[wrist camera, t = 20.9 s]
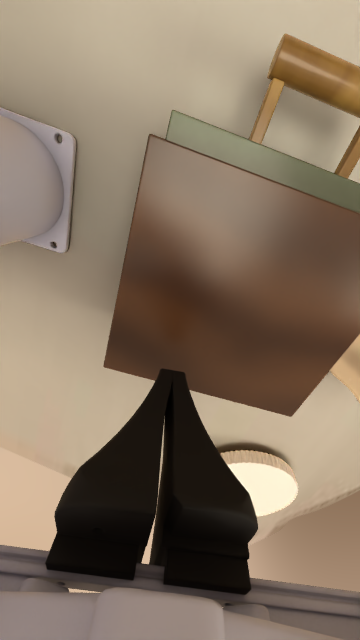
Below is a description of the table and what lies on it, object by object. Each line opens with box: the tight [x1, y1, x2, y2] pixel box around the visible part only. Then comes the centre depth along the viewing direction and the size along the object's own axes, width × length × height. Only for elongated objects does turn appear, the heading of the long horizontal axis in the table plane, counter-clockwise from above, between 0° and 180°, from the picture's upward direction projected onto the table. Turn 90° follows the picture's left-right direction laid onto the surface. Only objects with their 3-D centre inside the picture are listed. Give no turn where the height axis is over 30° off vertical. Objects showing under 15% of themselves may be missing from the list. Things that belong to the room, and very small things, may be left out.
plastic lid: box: [220, 450, 298, 517], centre depth 32 cm, size 14×14×2 cm
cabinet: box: [104, 134, 360, 417], centre depth 17 cm, size 14×15×7 cm
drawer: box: [166, 34, 360, 213], centre depth 15 cm, size 17×13×5 cm
